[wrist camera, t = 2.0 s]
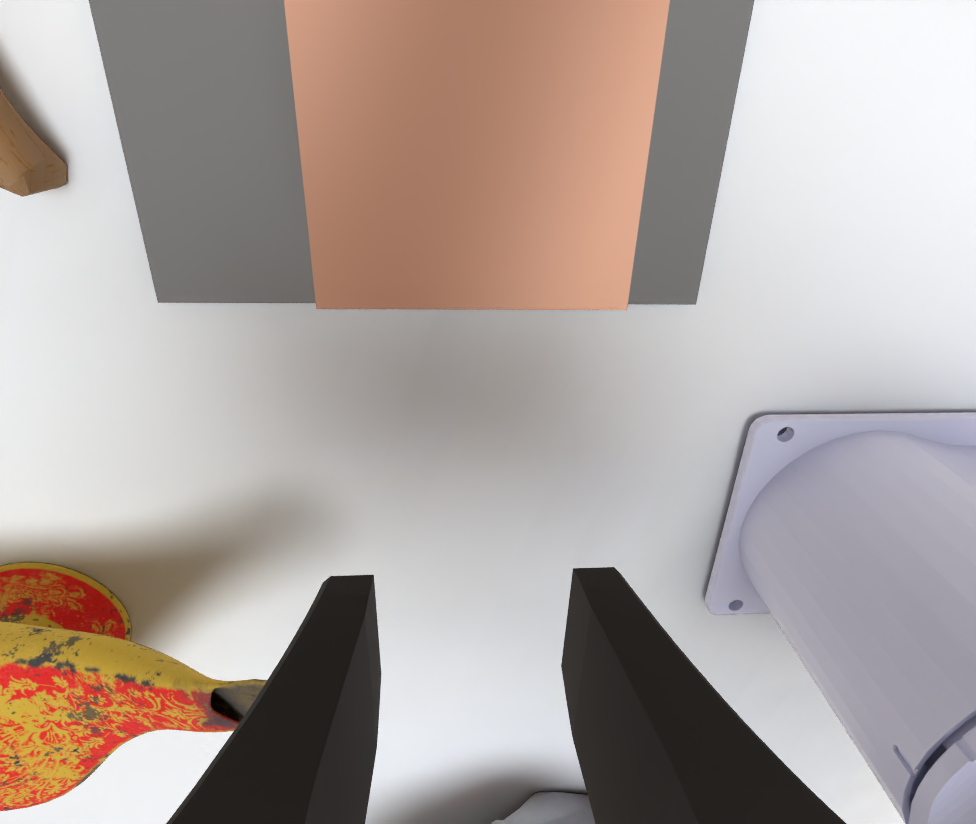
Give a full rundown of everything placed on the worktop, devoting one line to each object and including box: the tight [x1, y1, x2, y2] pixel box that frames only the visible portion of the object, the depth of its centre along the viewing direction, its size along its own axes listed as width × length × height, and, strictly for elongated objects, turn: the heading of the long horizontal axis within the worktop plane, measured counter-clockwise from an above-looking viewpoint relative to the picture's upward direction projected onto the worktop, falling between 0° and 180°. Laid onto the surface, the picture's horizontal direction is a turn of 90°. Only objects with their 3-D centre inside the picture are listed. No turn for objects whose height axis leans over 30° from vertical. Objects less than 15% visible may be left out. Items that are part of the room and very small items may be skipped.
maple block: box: [284, 0, 670, 310], centre depth 11 cm, size 4×4×8 cm
